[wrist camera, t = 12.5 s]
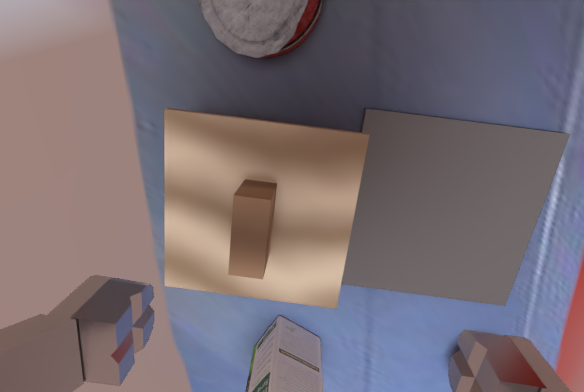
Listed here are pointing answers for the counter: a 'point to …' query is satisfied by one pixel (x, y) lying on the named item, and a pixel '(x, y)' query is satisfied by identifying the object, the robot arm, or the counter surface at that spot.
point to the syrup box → (286, 360)
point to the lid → (259, 206)
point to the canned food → (261, 24)
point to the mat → (447, 205)
